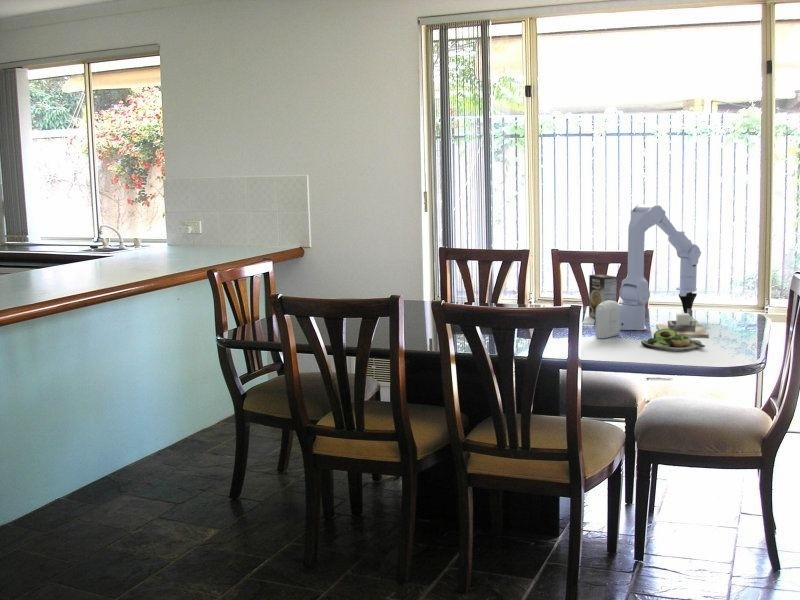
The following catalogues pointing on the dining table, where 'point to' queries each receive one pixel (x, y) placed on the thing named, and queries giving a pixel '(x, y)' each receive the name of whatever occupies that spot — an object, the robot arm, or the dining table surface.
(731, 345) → the dining table surface
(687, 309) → the gate
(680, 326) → the beige board
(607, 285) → the coffee box
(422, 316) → the dining table surface
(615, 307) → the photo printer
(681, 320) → the white cube block
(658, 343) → the salad plate
